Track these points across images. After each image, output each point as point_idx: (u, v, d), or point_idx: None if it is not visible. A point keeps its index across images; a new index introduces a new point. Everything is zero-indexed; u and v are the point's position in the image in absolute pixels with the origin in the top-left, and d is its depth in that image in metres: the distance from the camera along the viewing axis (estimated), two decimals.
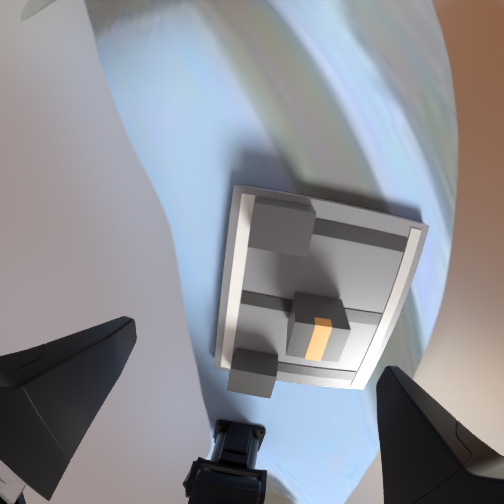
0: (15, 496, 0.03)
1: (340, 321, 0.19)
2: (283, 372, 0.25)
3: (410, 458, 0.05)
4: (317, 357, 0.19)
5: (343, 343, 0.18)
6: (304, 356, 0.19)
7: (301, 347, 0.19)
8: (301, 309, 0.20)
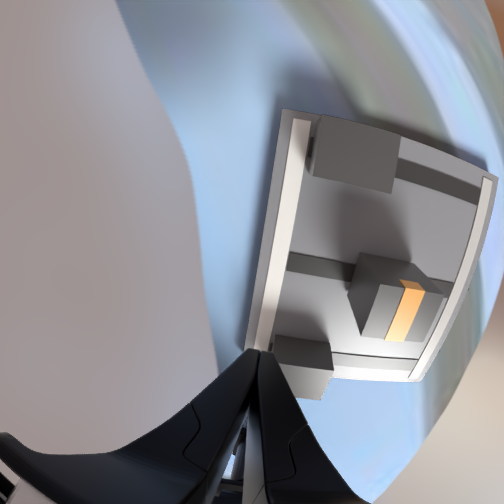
0: None
1: (428, 285, 0.12)
2: (332, 365, 0.19)
3: (251, 455, 0.05)
4: (400, 336, 0.13)
5: (433, 314, 0.12)
6: (384, 337, 0.13)
7: (383, 323, 0.12)
8: (379, 270, 0.13)
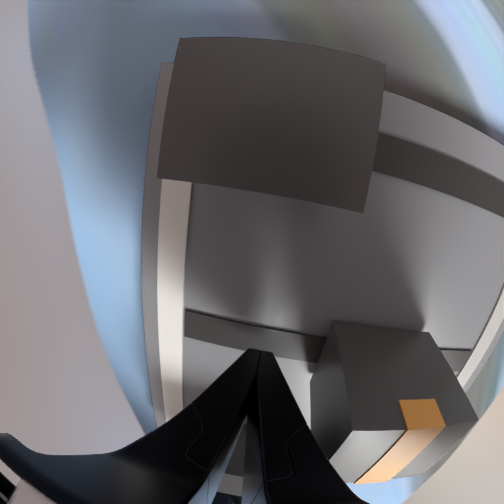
0: None
1: (452, 398, 0.05)
2: None
3: (250, 455, 0.05)
4: (384, 477, 0.05)
5: (450, 446, 0.05)
6: (354, 480, 0.05)
7: (354, 470, 0.05)
8: (361, 377, 0.06)
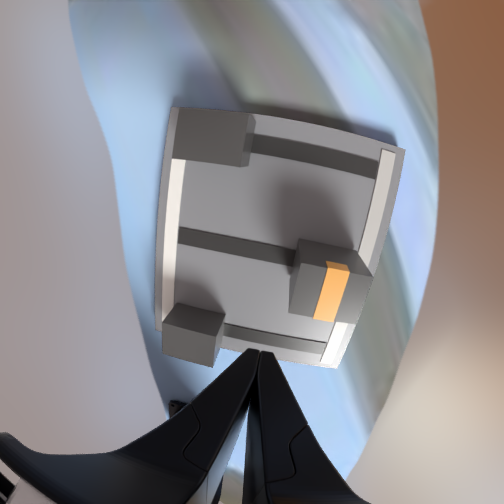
0: None
1: (358, 268, 0.15)
2: (234, 338, 0.22)
3: (251, 455, 0.05)
4: (330, 316, 0.15)
5: (363, 296, 0.14)
6: (312, 315, 0.15)
7: (309, 301, 0.14)
8: (308, 253, 0.16)
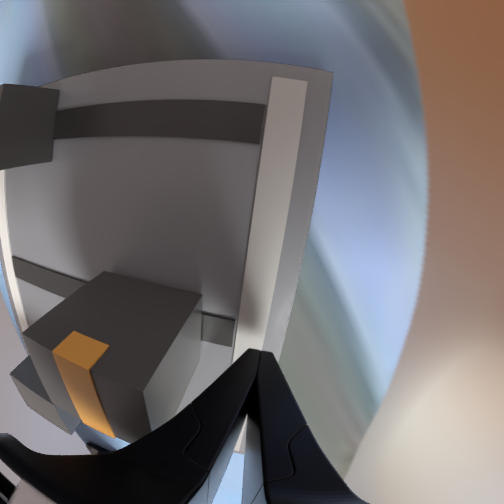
0: None
1: (135, 355, 0.06)
2: None
3: (250, 455, 0.05)
4: (104, 429, 0.06)
5: (142, 419, 0.05)
6: (80, 418, 0.06)
7: (64, 397, 0.06)
8: (69, 308, 0.07)
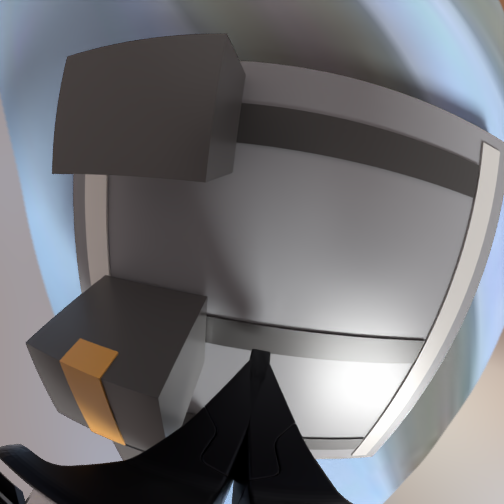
0: None
1: (146, 361, 0.06)
2: None
3: None
4: (114, 437, 0.06)
5: (156, 425, 0.05)
6: (89, 426, 0.06)
7: (71, 406, 0.06)
8: (73, 314, 0.07)
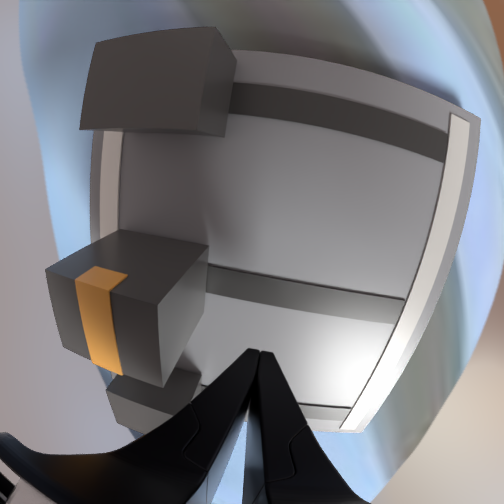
0: None
1: (151, 281, 0.07)
2: None
3: (251, 455, 0.05)
4: (113, 365, 0.07)
5: (153, 341, 0.07)
6: (91, 357, 0.07)
7: (77, 334, 0.07)
8: (90, 252, 0.08)
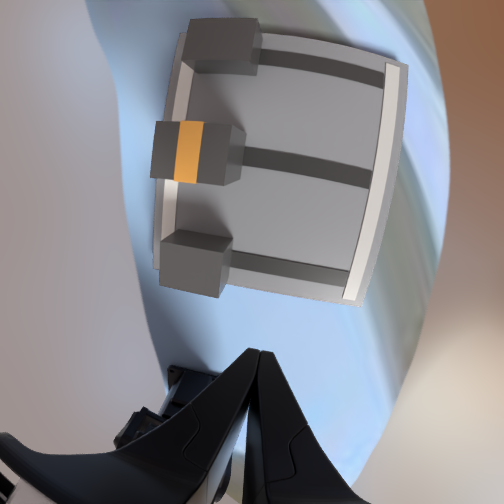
0: None
1: None
2: (242, 270, 0.20)
3: (251, 455, 0.05)
4: (191, 176, 0.13)
5: (225, 148, 0.12)
6: (173, 177, 0.13)
7: (168, 160, 0.13)
8: None
